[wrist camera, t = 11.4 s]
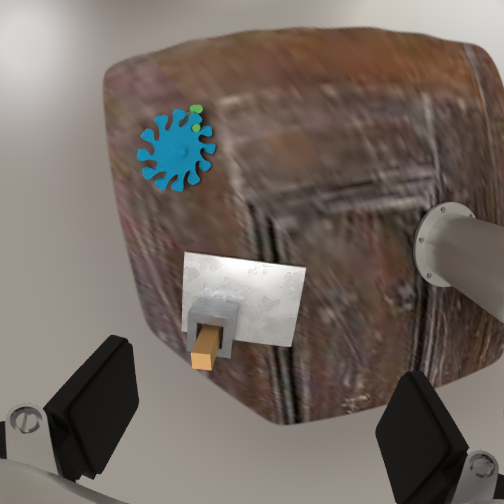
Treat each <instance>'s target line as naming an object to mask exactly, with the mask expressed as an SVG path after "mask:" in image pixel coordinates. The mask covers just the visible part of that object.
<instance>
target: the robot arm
mask: <svg viewBox="0 0 504 504" xmlns="http://www.w3.org/2000/svg"><path fill="white" fill-rule="evenodd" d="M419 238H420V240H419ZM413 257H414V262H415V265H416V268H417V270H418V272H419V273H420V275H421V276H422V277H423V278H424V279H425V280H426V281H427V282H429V283H430V284H432V285H434V286H437V287H450V286H453V287H454V288H456V289H457V290H459V291H460V292H461V293H463V294H464V295H466V296H467V297H468V298H470V299H471V300H472V301H474V302H475V303H476V304H478V305H479V306H480V307H482V308H483V309H484V310H486V311H487V312H488V313H490V314H491V315H492V316H494V317H495V318H496V319H498V320H499V321H500V322H502V323H504V227H502V226H499V225H496V224H493V223H489V222H486V221H482V220H479V219H476V217H475V216H474V214H473V213H472V212H471V210H470V209H469V208H467V207H466V206H465V205H462V204H460V203H457V202H443V203H439V204H438V205H436V206H434V207H432V208H431V209H430V210H429V211H428V212H427V213H426V214H425V215H424V216H423V218H422V220H421V221H420V223H419V225H418V227H417V230H416V232H415V237H414V242H413ZM138 404H139V397H138V390H137V382H136V374H135V365H134V356H133V347H132V344H130V343H129V342H128V340H127V339H126V338H123V337H119V336H116V335H110V336H109V337H108V338H107V339H106V340H105V341H104V342H103V343H102V344H101V345H100V347H99V348H98V349H97V350H96V351H95V352H94V353H93V354H92V355H91V356H90V357H89V358H88V359H87V360H86V361H85V363H84V364H83V365H82V366H80V368H79V369H78V370H77V371H76V372H75V373H74V374H73V375H72V376H71V378H69V380H68V381H67V382H66V383H65V384H64V385H63V386H62V387H61V388H60V389H59V391H58V392H57V393H56V394H55V395H54V396H53V397H52V399H51V400H50V401H49V402H48V403H47V404H46V405H45V407H44V408H43V409H42V408H41V407H39V406H37V405H34V404H31V403H22V404H18V405H16V406H14V407H13V408H11V410H9V412H8V414H7V415H6V420H5V421H2V422H0V504H128V503H125V502H122V501H119V500H116V499H114V498H111V497H108V496H105V495H103V494H101V493H98V492H96V491H93V490H91V489H88V488H86V487H83V486H82V485H79V482H78V480H79V479H80V477H81V475H84V476H86V477H88V478H90V479H93V480H94V478H95V476H96V474H101V473H102V472H103V470H104V469H105V467H106V465H107V463H108V461H109V459H110V457H111V455H112V454H113V452H114V450H115V448H116V446H117V444H118V443H119V441H120V439H121V437H122V435H123V434H124V432H125V430H126V428H127V426H128V424H129V423H130V421H131V419H132V417H133V415H134V414H135V412H136V410H137V408H138ZM375 433H376V438H377V441H378V444H379V448H380V451H381V454H382V457H383V460H384V463H385V467H386V470H387V474H388V477H389V480H390V484H391V487H392V491H393V495H394V498H395V501H396V503H397V504H504V475H501V474H499V473H498V471H499V466H498V463H497V461H496V459H495V457H494V456H492V455H491V454H490V453H488V452H486V451H482V450H478V451H474V452H471V453H470V454H469V455H468V454H467V452H466V451H467V450H468V449H469V446H468V444H467V443H466V441H465V439H464V437H463V436H462V434H461V432H460V431H459V429H458V427H457V425H456V424H455V422H454V420H453V419H452V417H451V415H450V414H449V412H448V410H447V409H446V408H445V406H444V404H443V402H442V401H441V399H440V398H439V396H438V394H437V393H436V391H435V390H434V388H433V387H432V385H431V383H430V382H429V380H428V379H427V377H426V376H425V374H424V373H423V372H421V371H410V372H407V373H406V374H405V375H404V376H402V377H401V378H400V380H399V382H398V384H397V387H396V389H395V391H394V393H393V395H392V397H391V399H390V401H389V404H388V406H387V408H386V410H385V412H384V414H383V416H382V417H381V420H380V421H379V423H378V425H377V427H376V432H375Z"/></svg>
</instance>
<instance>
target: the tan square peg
mask: <svg viewBox="0 0 504 504" xmlns="http://www.w3.org/2000/svg"><path fill="white" fill-rule="evenodd" d="M223 331H224V327H222V326H215V325H209V324H204V325H203V327H202V330H201V332H200V334H199V336H198V338H197V340H196V343H195V345H194V347H193V349H192V351H191V359H192V367H193V368H194V369H204V370H212V367H213V364H214V361H215V358H216V354H217V351H218V348H219V345H220V342H221V339H222V336H223Z"/></svg>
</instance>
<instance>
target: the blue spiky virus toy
mask: <svg viewBox="0 0 504 504" xmlns="http://www.w3.org/2000/svg"><path fill="white" fill-rule="evenodd" d="M202 110H203V108H202V106H201V105H192V106H191V107H190V111H191V112H185V111H183V110H174V111H173V122H172V125H171V127H170V129H169V130H167V131H166V130H165V125H166V123H167V121H168V117H167V116H166V115H160V116H157V117H155V123H156V124H157V125H158V127H159V131H160V137H159V139H158V140H157V141H155V140H154V132H153V131H152V130H151V129H146V130H145V131H144V132H143V133H142V134H141V138H142V139H144V140H147V141H149V142H150V143H151V144H152V145H153V147H154V149H155V152H154V154H152V155H150V154H149V153H148V151H147V150H145V149H142V148H141V149H139V151H138V154H137V159H139V160H141V161H144V160H147V159H152V160H155V161H156V162H157V167H156V168H154V169H151V168H149V167H144V168H143V169H142V173H143V176H144V178H146V179H151V178H152V177H153V176H154V175H155V174H156V173H158V172H162V171H165V172H166V175H165V177H164V178H160V179H157V180H156V181H155V183H154V184H155V185H156V186H157V187H158V188H159V189H161V190H162V191H163V190H164V189H165V188H166V186H167V183H168V181H169V180H170V179H171V178H172V177H173V176H174V175H176V174H177V175H178V178H177V180H176V181H174V182H173V183H172V185H171V188H172V189H174V190H175V191H182V190H183V188H184V186H183V179H184V176H185V174H186V172H187V171H189V170H190V175H189V177H188V183H189V184H191V185H194V184H196V183H198V182H199V181H200V178H199V177H198V175H197V174H196V171H195V164H196V162H197V161H199V167H200V169H201V170H203V171H207V170H208V169H209V168H210V167H211V163H210V162H208V161H206V160H204V159H203V158H202V156H201V154H200V150H201V148H204V150H205V152H207V153H210V154H213V153H214V151H215V147H216V145H215V144H212V143H207V144H203V143H201V142H200V141H199V140H198V137H199V136H200V135H201V134H202V135H203V136H208V137H209V136H211V135H212V129H211V126H204V127H202V128H201V129H200V125H199V123H200V122H201V121H202V118H201V116H200V115H199V114H198V113H201V112H202ZM180 120H181V121H180ZM179 121H180V123H179ZM178 123H179V125H178ZM192 131H193V132H192Z"/></svg>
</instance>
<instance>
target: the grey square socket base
mask: <svg viewBox="0 0 504 504" xmlns="http://www.w3.org/2000/svg"><path fill="white" fill-rule="evenodd" d="M305 272H306V266H299V265H291V264H283V263H275V262H268V261H260V260H253V259H245V258H237V257H230V256H222V255H215V254H208V253H200V252H193V251H185V257H184V276H183V302H182V331H185V332H187V351H189V352H191V351H192V349H193V347H194V345H195V343H196V340H197V338H198V336H199V334H200V332H201V330H202V327H203V325H204V324H209V325H215V326H222V327H224V331H223V336H222V339H221V342H220V345H219V348H218V351H217V354H216V356H218V357H224V358H231V354H232V350H233V346H234V342H235V340H240V341H247V342H254V343H262V344H270V345H279V346H288V347H291V344H292V339H293V335H294V330H295V325H296V320H297V315H298V310H299V304H300V299H301V294H302V288H303V283H304V277H305Z"/></svg>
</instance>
